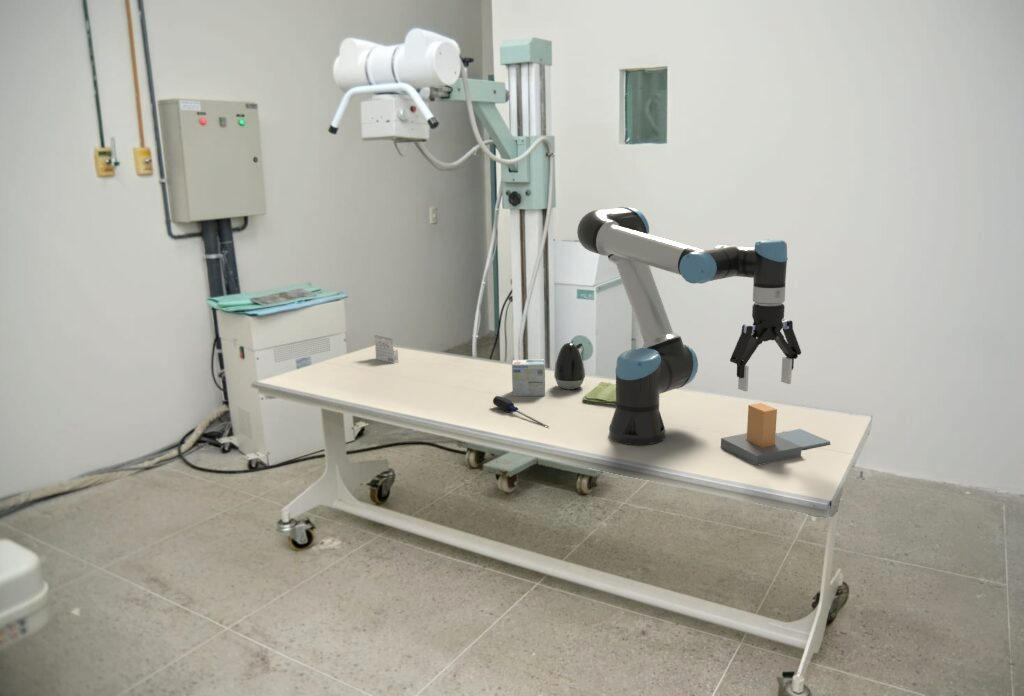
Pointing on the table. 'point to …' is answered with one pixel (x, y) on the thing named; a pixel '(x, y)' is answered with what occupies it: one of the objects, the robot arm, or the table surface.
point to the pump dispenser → (569, 367)
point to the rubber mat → (803, 438)
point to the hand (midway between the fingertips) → (764, 386)
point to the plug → (761, 425)
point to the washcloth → (602, 394)
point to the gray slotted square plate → (760, 449)
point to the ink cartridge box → (385, 349)
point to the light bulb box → (528, 377)
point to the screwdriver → (511, 407)
